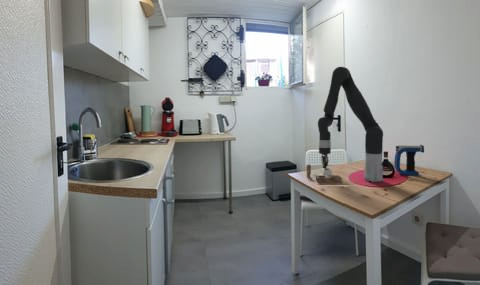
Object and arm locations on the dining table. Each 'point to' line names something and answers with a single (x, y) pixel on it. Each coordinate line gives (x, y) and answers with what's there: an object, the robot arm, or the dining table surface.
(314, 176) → the subfloor panel
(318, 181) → the joist batten
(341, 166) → the dining table surface
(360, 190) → the dining table surface
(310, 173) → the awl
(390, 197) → the dining table surface
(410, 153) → the handheld scanner
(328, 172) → the stud finder block
